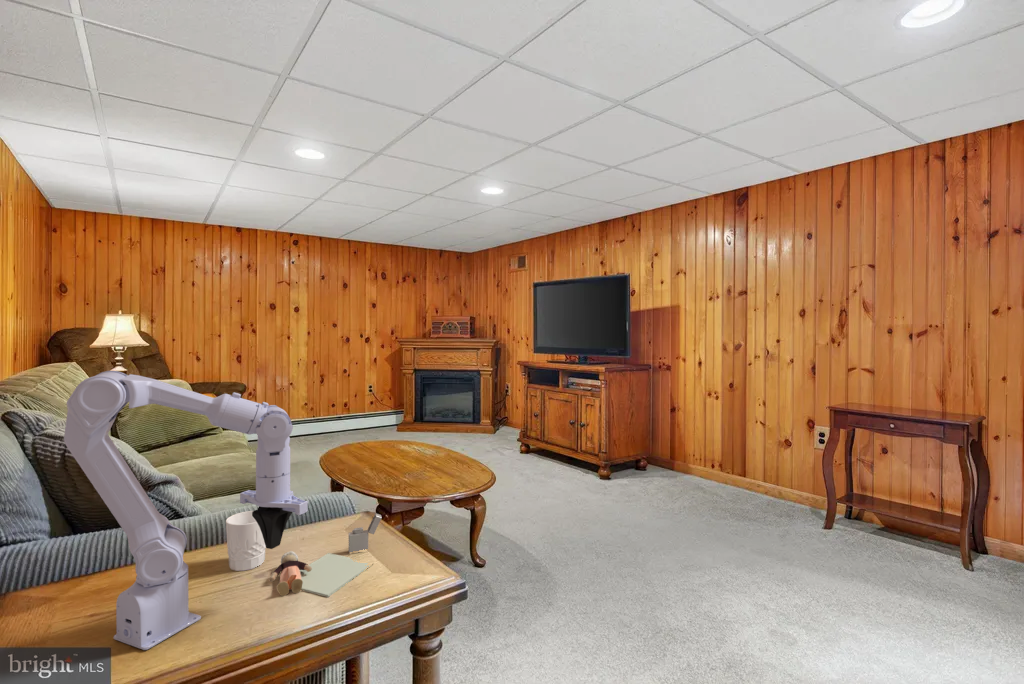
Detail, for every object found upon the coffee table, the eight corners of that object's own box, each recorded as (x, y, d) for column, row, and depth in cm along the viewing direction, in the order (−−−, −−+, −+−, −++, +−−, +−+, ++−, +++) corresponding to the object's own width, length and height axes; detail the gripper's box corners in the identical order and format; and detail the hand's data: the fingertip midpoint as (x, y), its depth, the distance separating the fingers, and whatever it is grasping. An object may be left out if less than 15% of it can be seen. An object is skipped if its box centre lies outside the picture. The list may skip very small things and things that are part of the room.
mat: (328, 597, 95) (328, 595, 95) (279, 584, 100) (279, 582, 100) (373, 564, 108) (373, 562, 108) (328, 554, 113) (328, 552, 113)
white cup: (236, 576, 103) (236, 528, 102) (219, 565, 107) (219, 518, 107) (274, 562, 109) (274, 516, 108) (256, 552, 114) (256, 508, 113)
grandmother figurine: (272, 578, 94) (270, 547, 106) (269, 598, 94) (267, 565, 106) (316, 575, 98) (309, 546, 109) (312, 594, 98) (306, 563, 109)
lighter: (349, 554, 113) (349, 519, 113) (348, 551, 115) (348, 516, 114) (381, 549, 116) (381, 514, 116) (380, 546, 117) (380, 512, 117)
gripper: (320, 472, 94) (319, 544, 94) (262, 463, 99) (262, 531, 100) (290, 483, 87) (290, 560, 88) (230, 472, 93) (230, 545, 93)
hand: (273, 546), depth 93 cm, fingers closed
